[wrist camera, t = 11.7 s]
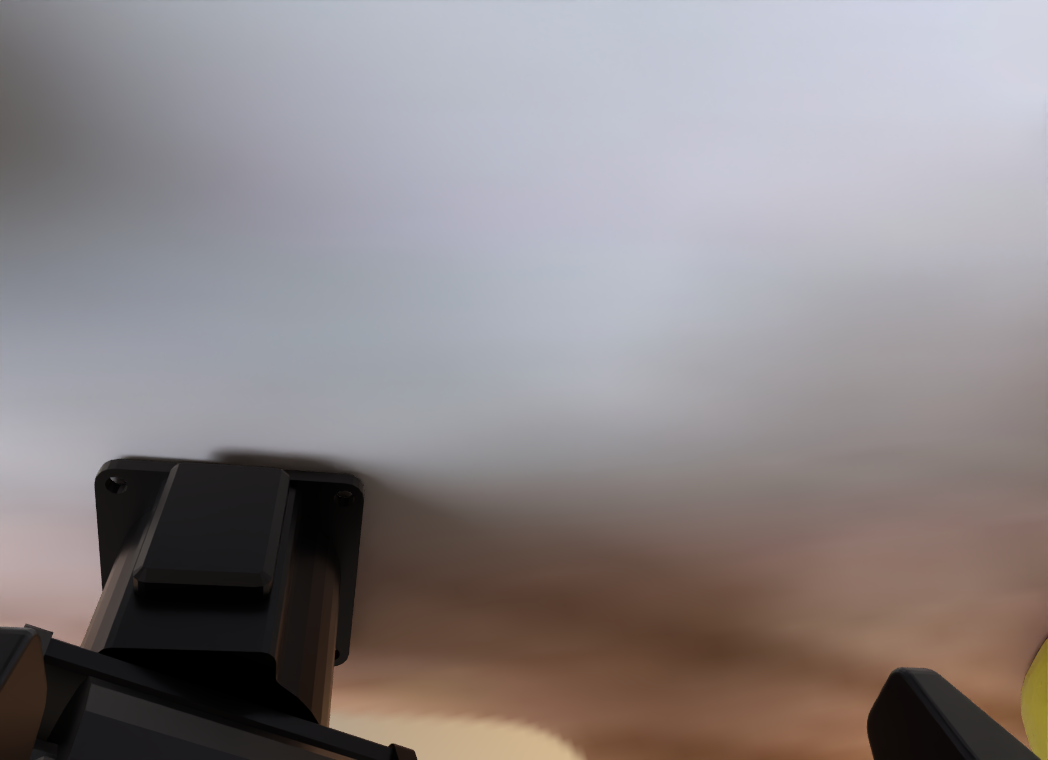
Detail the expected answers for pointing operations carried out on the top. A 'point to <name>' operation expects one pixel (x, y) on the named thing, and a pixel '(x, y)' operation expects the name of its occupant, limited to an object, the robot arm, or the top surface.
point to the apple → (1036, 703)
